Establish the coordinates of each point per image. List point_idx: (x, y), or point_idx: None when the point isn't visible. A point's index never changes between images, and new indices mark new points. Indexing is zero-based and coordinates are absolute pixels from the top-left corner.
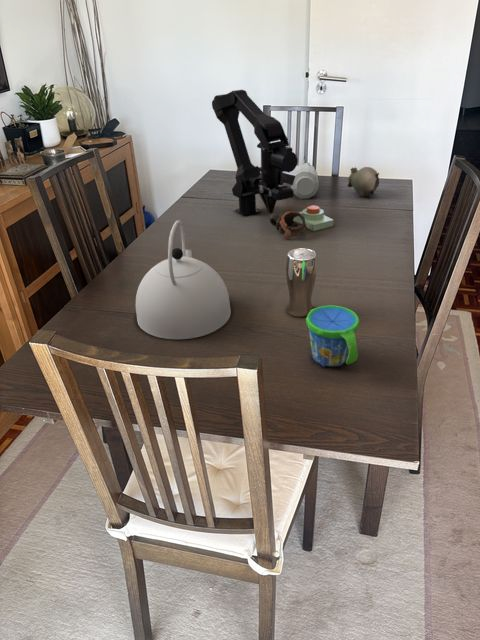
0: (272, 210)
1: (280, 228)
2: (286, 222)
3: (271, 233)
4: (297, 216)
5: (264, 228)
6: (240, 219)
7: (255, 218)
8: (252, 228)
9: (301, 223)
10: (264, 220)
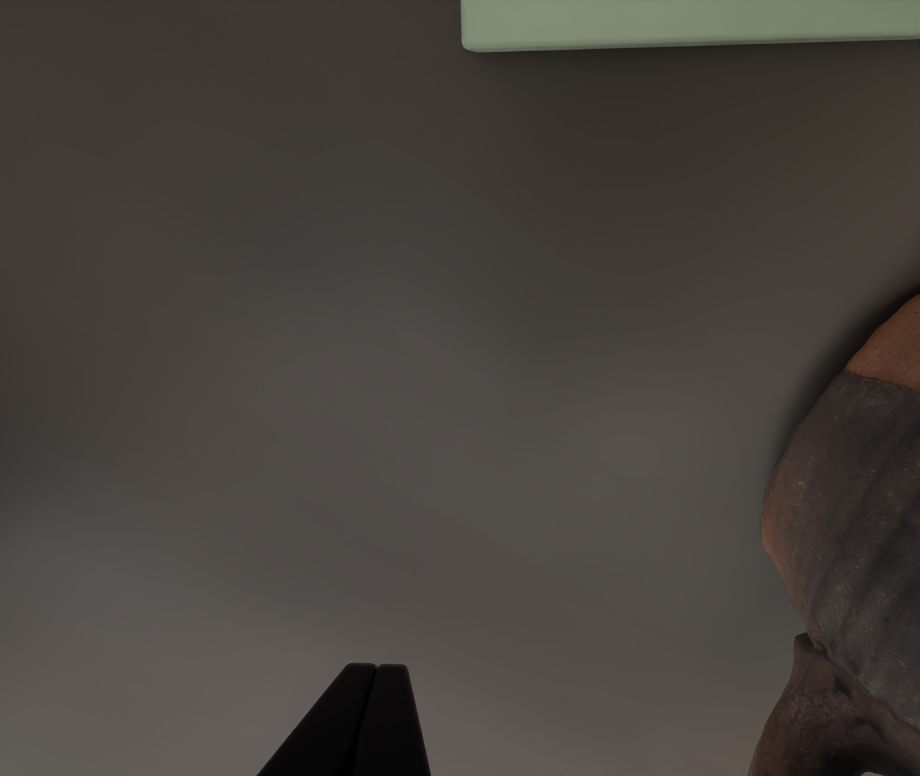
0: (418, 729)
1: (782, 568)
2: (905, 555)
3: (766, 691)
4: (719, 40)
5: (534, 673)
6: (55, 738)
7: (86, 586)
8: (438, 772)
9: (879, 39)
10: (226, 526)
